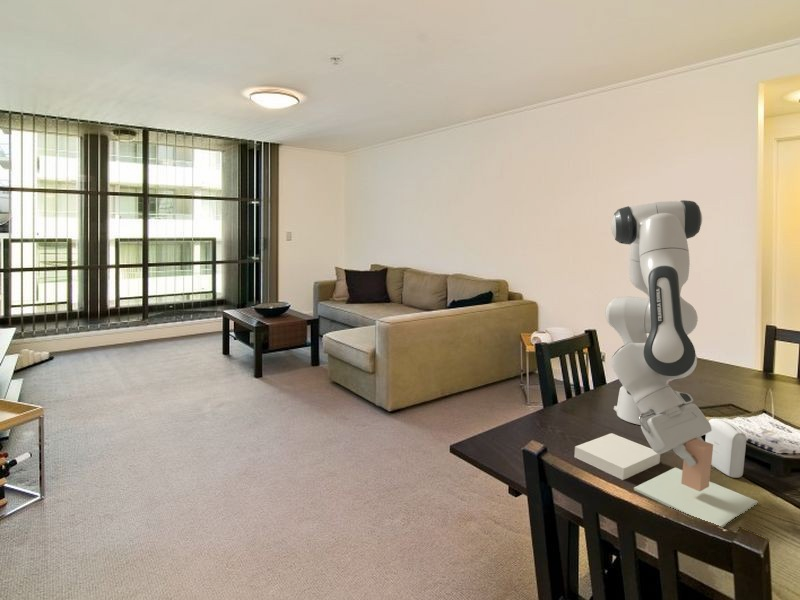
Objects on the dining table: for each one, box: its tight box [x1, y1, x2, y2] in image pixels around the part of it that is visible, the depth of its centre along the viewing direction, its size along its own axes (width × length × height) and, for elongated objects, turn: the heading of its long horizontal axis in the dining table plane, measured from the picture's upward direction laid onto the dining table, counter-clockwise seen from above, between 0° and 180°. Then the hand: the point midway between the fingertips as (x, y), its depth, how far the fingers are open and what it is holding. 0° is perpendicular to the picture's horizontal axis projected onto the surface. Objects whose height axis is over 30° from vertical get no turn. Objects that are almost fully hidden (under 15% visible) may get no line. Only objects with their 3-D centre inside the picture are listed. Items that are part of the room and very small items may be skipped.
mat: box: [633, 467, 759, 528], centre depth 109 cm, size 18×18×1 cm
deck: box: [573, 432, 661, 481], centre depth 126 cm, size 16×14×3 cm
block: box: [681, 438, 713, 491], centre depth 108 cm, size 4×4×10 cm
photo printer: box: [704, 418, 747, 479], centre depth 121 cm, size 10×4×12 cm, turn 3°
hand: (700, 461), depth 107 cm, fingers closed on block, 4 cm apart
